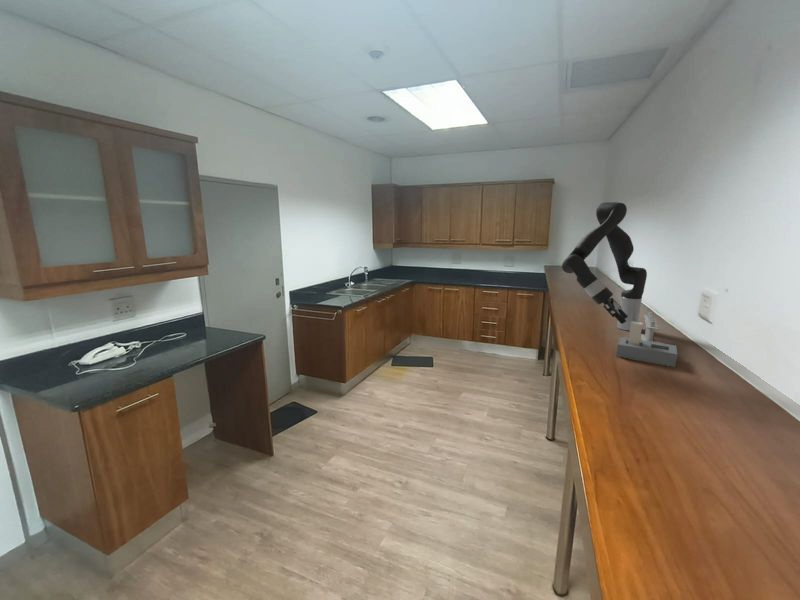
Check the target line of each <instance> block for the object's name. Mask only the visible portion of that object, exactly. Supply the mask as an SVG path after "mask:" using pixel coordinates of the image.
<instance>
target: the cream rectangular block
mask: <svg viewBox="0 0 800 600" xmlns="http://www.w3.org/2000/svg"><path fill="white" fill-rule="evenodd" d="M642 328H643V322H639V321H638V322H633V321H631V326H630V331H629V333H628V338H629V340H628V344H633V345H639V343H640V340H641V334H642Z"/></svg>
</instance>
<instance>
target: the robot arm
mask: <svg viewBox="0 0 800 600" xmlns="http://www.w3.org/2000/svg"><path fill="white" fill-rule="evenodd" d="M627 211H628V209H627V205H626V204H625V203H623V202H617V201H615V202H614V201H613V202H610V201H609V202H601V203H600V204H598V206H597V207H596V211H595V214H596V215H595V216H596V220H597V221H598V223H599V226H597V227H595V228H593V229H592V230H590V231H589V232H587V233H586V234H584V236H583V237H582V238H581V239H580V240H579V242H578V243H577V244H576V246H575V247H574V249H573V250H572V251H571V252H570V254H569V255H568V256H567V257H566V258H565V259H564V260H563V262H562V264H561V268H562V270H563V272H565V273H566V274H573V273H574V274H575V276H576V281H577V283H578V284H579V286H581V288H583V290H584V291H585V292H586V294H587V295H589V297H590V298H591V299H592V300H593V301H594V302H595V303H596V304H597V305H601V304H603V306H602V307H603V308H604V310H606V311H607V312H608V314H609V315H610V316H611V317H612V318H615V319H616V320H617V325H616V328H618V329H619V330H623V331H629V332H630V326H631V321H633V322H639V319H640V313H641V307H642V301H643V300H642V299H643V294H644V291H645V286H646V283H647V278H648V277H647V276H648V273H647V269H646V268H644V267H637V266H636V267H634V266H630V265H629V259H630V258H631V256H632V254H633V253H634V245H633V244H634V243H633V241H632V239H631V237H630V235H629V234H628V233H627V232H625V231H624V230H623V229H622V228H621V227H620V226H619V225H620V223H621V222H622V221H623V220H624V218H626V215H627ZM605 237H606V239H607V241H608V244H609V248H610V250H611V253H612V255H613V257H614V261H615V264H616V267H617V271H618V276H619V279H620V282H621V283H623V284H626V285H631V286H632V285H633V286H632V288H631V289H626V290H622V291H621V295H620V301H619V302H620V304H619V303H618V302H617V301H616V300H615V299H614V298H613V297H612V296H613V295H614V293H613V292H612V291H611V290H610V289H609V288H608V286H606V285H605V283H603V282H602V281H601V280H600V279H599V278H597V277H596V275H595V274H594V273H593V272H592V271H591V269H590V267H589V266H588V264H587V262H586V261H585V259H587V257H589V256H590V255H591V254H592V252H593V251H594V250H595V248H597V245H599V243H600V242H601V241H602V240H603V239H604V238H605Z"/></svg>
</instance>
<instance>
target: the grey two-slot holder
mask: <svg viewBox="0 0 800 600" xmlns="http://www.w3.org/2000/svg"><path fill="white" fill-rule="evenodd" d="M628 340H629V337H624V336H620V337H619V341H618V342H617V348H616V354H615V355H616V356H615V357H618V358H622V357H623V358H624V359H627V358H628V359H629V360H634V361H638V362H644V363H648V364H649V363H651V364H654V363H655V364H656V365H660V364H661V366H665V365H666V366H667V367H670V366H671V368H676V365H677V363H676V362H677V358H678V357H677V356H678V350H677V345H675V344H669V343H668V344H667V343H662V342H656V341H653V342H650V341H644V340H642V339H640V343H639V345H633V344H628ZM628 359H627V360H628Z"/></svg>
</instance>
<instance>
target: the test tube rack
mask: <svg viewBox="0 0 800 600" xmlns="http://www.w3.org/2000/svg"><path fill="white" fill-rule="evenodd" d="M643 317H644V320H645V322H644V323H645V325H646V326H645V331H644V334H643V333H641V336H640V340H644V341H650V342H654V340H653V339H654V333H655V330H656V331H657V330H659V326H658V322H657V319H656V316H655V315H653V312H651V311H649V312H648V314H644V315H643Z"/></svg>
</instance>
